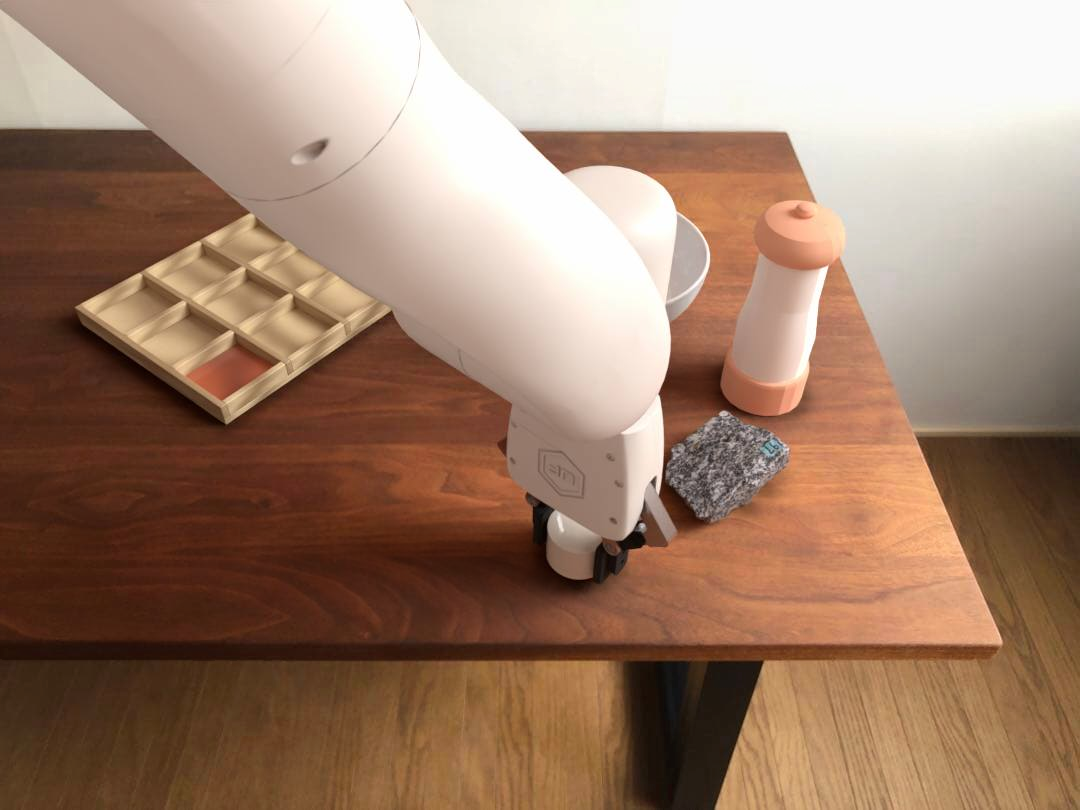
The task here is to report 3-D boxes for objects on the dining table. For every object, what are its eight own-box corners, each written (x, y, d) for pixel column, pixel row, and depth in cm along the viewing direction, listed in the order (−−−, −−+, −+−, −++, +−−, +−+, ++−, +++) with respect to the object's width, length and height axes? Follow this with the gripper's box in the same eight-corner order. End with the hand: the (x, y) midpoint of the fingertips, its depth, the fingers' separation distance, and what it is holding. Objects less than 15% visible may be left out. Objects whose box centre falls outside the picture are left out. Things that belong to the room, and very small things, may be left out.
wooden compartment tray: (226, 425, 77) (220, 407, 75) (81, 324, 86) (74, 307, 85) (403, 302, 89) (401, 285, 88) (260, 225, 99) (256, 209, 97)
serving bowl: (731, 355, 84) (743, 297, 79) (512, 385, 81) (512, 326, 76) (664, 233, 99) (671, 178, 94) (476, 254, 95) (474, 198, 91)
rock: (637, 480, 73) (642, 445, 70) (725, 427, 77) (733, 392, 74) (703, 541, 69) (711, 506, 66) (792, 481, 73) (803, 446, 70)
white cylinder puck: (585, 591, 65) (587, 564, 62) (533, 557, 67) (533, 530, 64) (622, 549, 67) (626, 522, 65) (571, 518, 69) (573, 491, 67)
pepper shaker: (795, 363, 83) (847, 181, 70) (807, 418, 78) (865, 233, 65) (717, 359, 84) (754, 177, 70) (723, 414, 79) (764, 229, 65)
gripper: (447, 343, 56) (459, 526, 68) (680, 471, 48) (646, 649, 61) (522, 288, 60) (520, 469, 73) (747, 397, 53) (701, 577, 65)
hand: (578, 549), depth 67 cm, fingers closed on white cylinder puck, 4 cm apart
